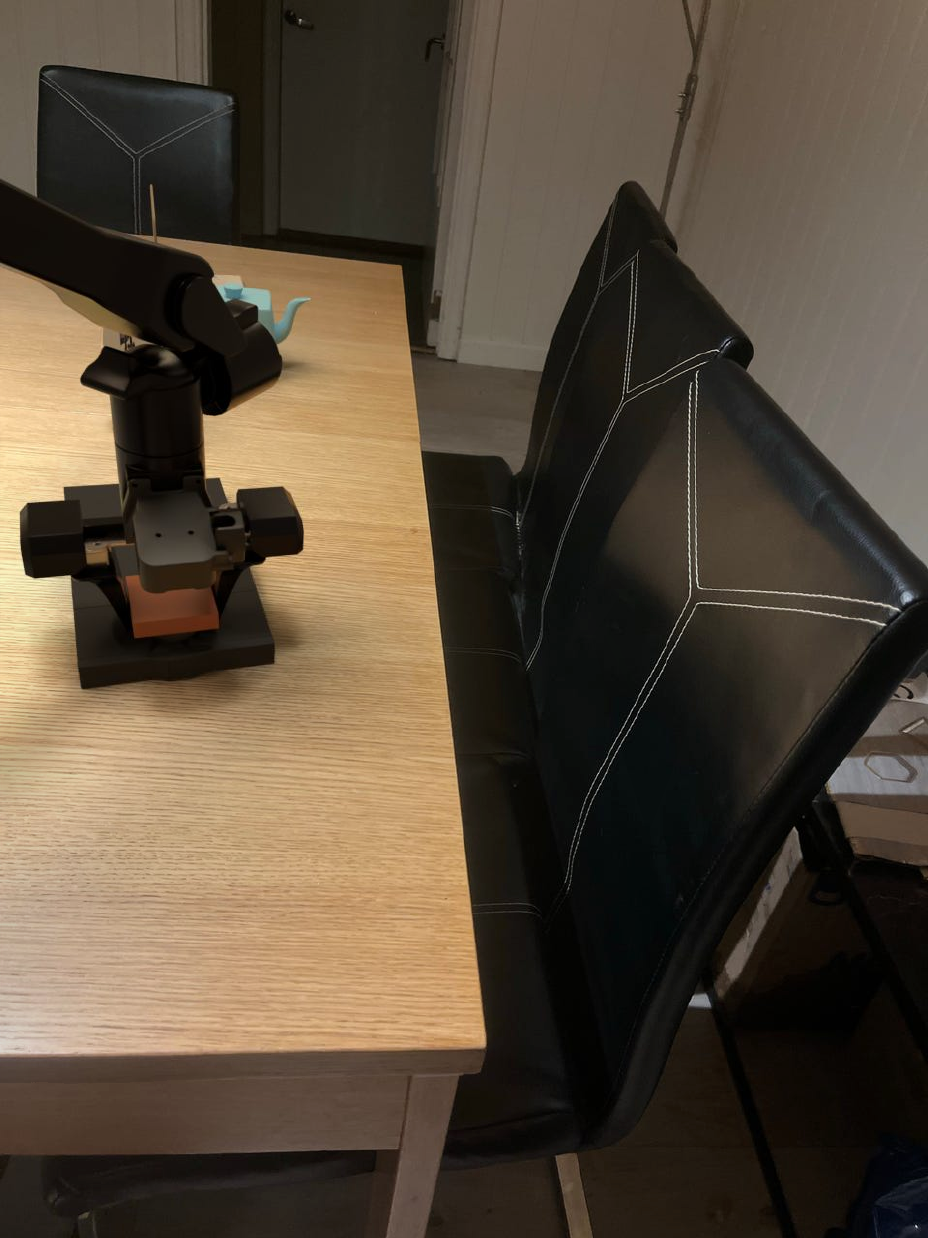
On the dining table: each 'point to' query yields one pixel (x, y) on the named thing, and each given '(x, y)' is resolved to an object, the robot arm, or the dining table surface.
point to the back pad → (127, 659)
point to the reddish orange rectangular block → (170, 612)
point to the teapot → (264, 308)
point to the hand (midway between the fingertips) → (173, 622)
